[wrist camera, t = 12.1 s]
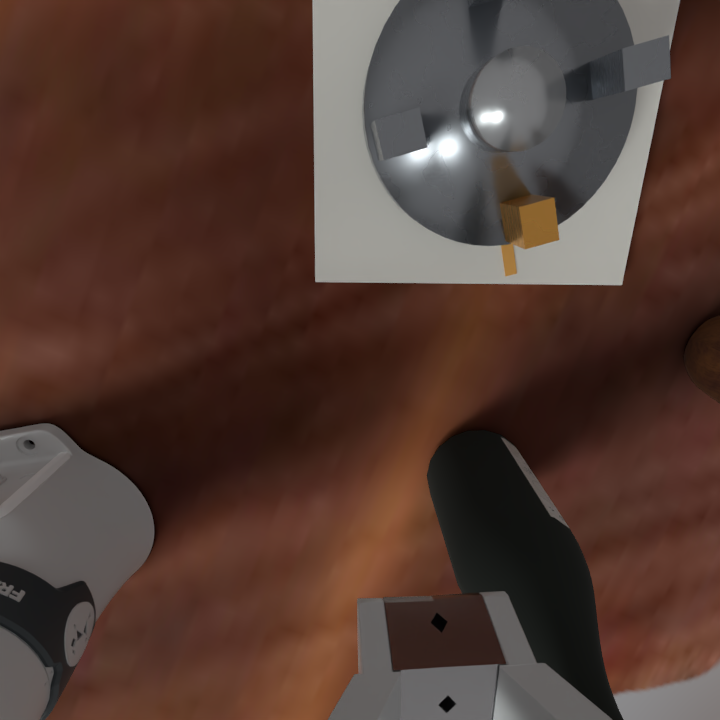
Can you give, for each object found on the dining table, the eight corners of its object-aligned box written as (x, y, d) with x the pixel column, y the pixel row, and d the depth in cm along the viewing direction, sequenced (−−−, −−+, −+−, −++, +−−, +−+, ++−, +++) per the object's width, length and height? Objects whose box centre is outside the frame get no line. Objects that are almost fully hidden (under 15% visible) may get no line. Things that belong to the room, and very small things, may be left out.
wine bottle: (522, 422, 42) (905, 933, 14) (514, 503, 45) (819, 1062, 17) (425, 427, 42) (619, 959, 14) (423, 507, 45) (580, 1087, 16)
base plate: (315, 277, 37) (315, 282, 35) (312, -105, 29) (311, -120, 28) (611, 280, 38) (622, 285, 37) (683, -85, 30) (700, -98, 29)
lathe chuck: (516, 282, 36) (550, 304, 30) (316, 160, 33) (313, 159, 27) (667, 60, 32) (740, 36, 26) (454, -110, 28) (485, -179, 22)
